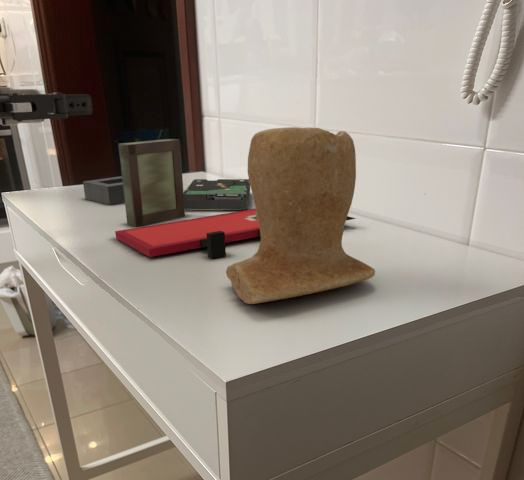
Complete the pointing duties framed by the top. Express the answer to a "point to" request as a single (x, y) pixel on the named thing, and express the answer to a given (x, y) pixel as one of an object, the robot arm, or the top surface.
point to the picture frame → (152, 181)
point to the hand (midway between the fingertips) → (71, 103)
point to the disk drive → (217, 194)
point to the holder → (105, 190)
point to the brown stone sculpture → (299, 215)
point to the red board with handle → (194, 234)
